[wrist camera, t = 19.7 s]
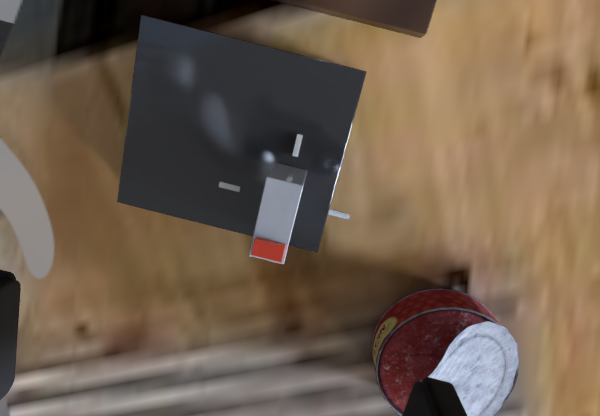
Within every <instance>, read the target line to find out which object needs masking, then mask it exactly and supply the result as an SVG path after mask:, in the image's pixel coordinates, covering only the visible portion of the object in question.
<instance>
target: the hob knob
mask: <svg viewBox="0 0 600 416" xmlns="http://www.w3.org/2000/svg"><path fill="white" fill-rule="evenodd" d="M306 174H307V170H303V169H299V168H295V167H291V166H287V165H283V164H279V163H277V165H276V166H275V167H274V168H273V169H272V171H271V172H270V173H269V174H268V176H267V177H266V181H265V185H264V190H263V194H262V199H261V203H260V207H259V212H258V216H257V221H256V225H255V230H254V234H253V239H252V243H251V248H250V252H249V256H252V257H256V258H259V259H263V260H267V261H271V262H275V263H279V264H284V261H285V258H286V254H287V250H288V246H289V242H290V238H291V234H292V230H293V226H294V222H295V218H296V214H297V210H298V206H299V202H300V198H301V194H302V190H303V186H304V182H305V178H306Z"/></svg>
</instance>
